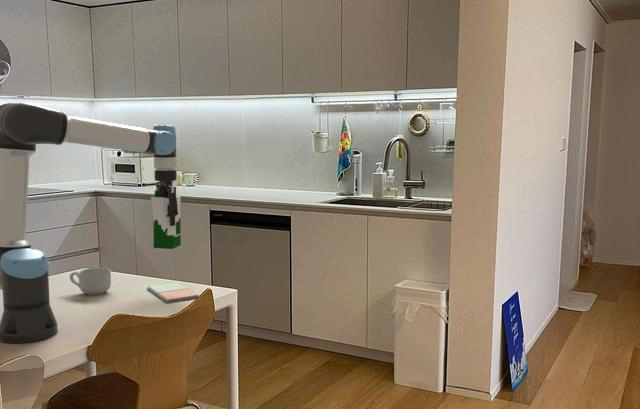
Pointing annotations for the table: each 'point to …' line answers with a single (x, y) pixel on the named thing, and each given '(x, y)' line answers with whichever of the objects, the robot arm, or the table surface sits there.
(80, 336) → the table surface
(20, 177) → the robot arm
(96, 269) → the teacup
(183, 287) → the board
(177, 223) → the soya milk
